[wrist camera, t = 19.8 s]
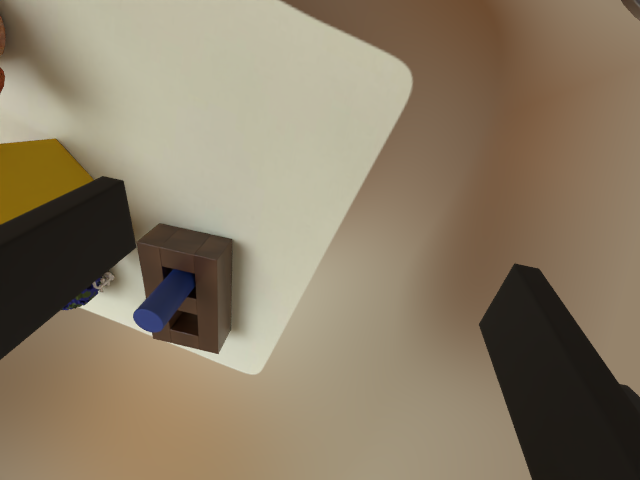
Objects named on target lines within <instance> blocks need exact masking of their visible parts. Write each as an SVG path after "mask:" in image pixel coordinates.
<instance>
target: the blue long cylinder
mask: <svg viewBox="0 0 640 480" xmlns="http://www.w3.org/2000/svg"><path fill="white" fill-rule="evenodd" d="M195 286H196V283H195V273H190V272H185V271H181V270H177V269H173V270H172V271H171V272H170V273H169V275H168V276H167V277H166V278H165V279H164V280H163V281H162V282H161V283H160V284H159V285H158V287H157V288H156V289H155V290H154V291H153V292H152V293H151V294H150V295H149V296H148V298H147V299H146V300H145V301H144V302H143V303H142V304H141V305H140V306H139V307H138V309H137V310H136V311H135V312H134V314H133V318H134V321H135V322H136V324H137V325H138V326H139V327H141V328H142V329H144V330H146V331H149V332H159V331H161V330H162V329H163V328H164V327H165V325H166V324H167V323H168V321H169V320H170V319H171V317H172V316H173V315H174V313H175V312H176V311H177V309H178V308H179V307H180V306H181V304H182V303H183V302H184V300H185V299H186V298H187V296H188V295H189V294H190V292H191V291H192V290H193V288H194V287H195Z"/></svg>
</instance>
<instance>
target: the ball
mask: <svg viewBox="0 0 640 480" xmlns="http://www.w3.org/2000/svg"><path fill="white" fill-rule="evenodd" d="M104 275H105V278H107V279H106V280H105V279H104V278H102V276H101V277H100V278H99V279H97V280H96V281H95V282H94V283H93V284H91V285H90V286H89V287H88V288H86V289H85V290H84V291H83V292H82V293H80V294H79V295H78V296H77V297H76V298H74V299H73V300H72V301H71V302H70V303H68V304H67V305H66V306H65V307H64V308H62V309H61V310H69V309H73V308H76V307H80V306H82V305H86V304H87V303H88V302H89V301H90V300H91V299H92V298H94V297H95V296H96V295H97V294H98V291H99V290H100V292H103V290H102V287H103V286H104V285H105V286H110V285H109V283H110V280H111V281H113V279H115V277H114V275H112V274H111V273H110V272H106V273H105V274H104Z"/></svg>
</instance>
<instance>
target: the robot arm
mask: <svg viewBox="0 0 640 480" xmlns="http://www.w3.org/2000/svg"><path fill="white" fill-rule="evenodd" d="M135 248H136V244H135V238H134V233H133V228H132V222H131V217H130V212H129V206H128V201H127V196H126V190H125V185H124V181H123V180H118V179H113V178H109V177H104V176H102V177H100V178H98V179H96V180H94V181H92V182H89V183H87V184H85V185H83V186H81V187H79V188H77V189H75V190H73V191H70V192H68V193H66V194H64V195H62V196H60V197H58V198H56V199H54V200H51V201H49V202H47V203H45V204H43V205H41V206H39V207H37V208H35V209H32V210H30V211H28V212H26V213H24V214H22V215H20V216H18V217H16V218H13V219H11V220H9V221H7V222H5V223H3V224H1V225H0V360H1V359H2V358H3V357H4V356H6V355H7V354H8V353H9V352H10V351H11V350H13V349H14V348H15V347H16V346H18V345H19V344H20V343H21V342H22V341H24V340H25V339H26V338H27V337H28V336H30V335H31V334H32V333H33V332H35V330H37V329H38V328H39V327H41V326H42V325H43V324H44V323H45V322H47V321H48V320H49V319H50V318H51V317H53V316H54V315H55V314H56V313H57V312H59V311H60V310H61V309H62V308H64V307H65V306H66V305H67V304H68V303H70V302H71V301H72V300H73V299H74V298H76V297H77V296H78V295H79V294H80V293H82V292H83V291H84V290H85V289H86V288H88V287H89V286H90V285H91V284H93V283H94V282H95V281H96V280H97V279H99V278H100V277H101V276H102V275H103V274H105V273H106V272H107V271H108V270H109V269H111V268H112V267H113V266H114V265H115V264H117V263H118V262H119V261H120V260H122V259H123V258H124V257H125V256H126V255H128V254H129V253H130V252H131V251H132V250H134V249H135ZM479 326H480V329H481V332H482V335H483V338H484V341H485V344H486V346H487V349H488V352H489V355H490V358H491V361H492V364H493V367H494V370H495V373H496V375H497V379H498V381H499V384H500V387H501V390H502V393H503V396H504V399H505V402H506V405H507V408H508V411H509V413H510V416H511V419H512V422H513V425H514V428H515V431H516V434H517V437H518V439H519V443H520V445H521V448H522V451H523V454H524V457H525V460H526V463H527V466H528V469H529V472H530V475H531V477H532V480H640V397H639V396H638V395H637V394H636V393H635V392H634V391H633V390H632V389H631V388H630V387H628V386H626V385H621V384H619V383H618V382H617V380H616V379H615V377H614V376H613V374H612V373H611V371H610V370H609V369H608V367H607V366H606V364H605V363H604V362H603V360H602V358H601V357H600V356H599V354H598V353H597V351H596V350H595V348H594V347H593V346H592V344H591V343H590V341H589V340H588V338H587V337H586V336H585V334H584V333H583V331H582V330H581V328H580V327H579V325H578V324H577V323H576V321H575V320H574V318H573V317H572V315H571V314H570V312H569V311H568V310H567V308H566V307H565V305H564V304H563V302H562V301H561V300H560V298H559V297H558V295H557V294H556V292H555V291H554V290H553V288H552V287H551V285H550V284H549V282H548V281H547V279H546V278H545V277H544V275H543V274H542V272H541V271H540V270H539V269H538V268H533V267H528V266H524V265H519V264H514V265H513V267H512V269H511V270H510V272H509V274H508V275H507V277H506V279H505V280H504V282H503V284H502V286H501V287H500V289H499V291H498V292H497V294H496V296H495V298H494V299H493V301H492V303H491V304H490V306H489V308H488V310H487V311H486V313H485V315H484V316H483V318H482V320H481V322H480V323H479Z"/></svg>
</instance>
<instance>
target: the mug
mask: <svg viewBox="0 0 640 480" xmlns="http://www.w3.org/2000/svg"><path fill="white" fill-rule="evenodd" d="M5 39H6V35H5V27H4V24H3V21H2V17H1V16H0V56H1V55H2V54H3V51H4V48H5ZM4 81H5V75H4V71H3V70H2V69H1V68H0V93H1V91H2V89H3V87H4Z"/></svg>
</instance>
